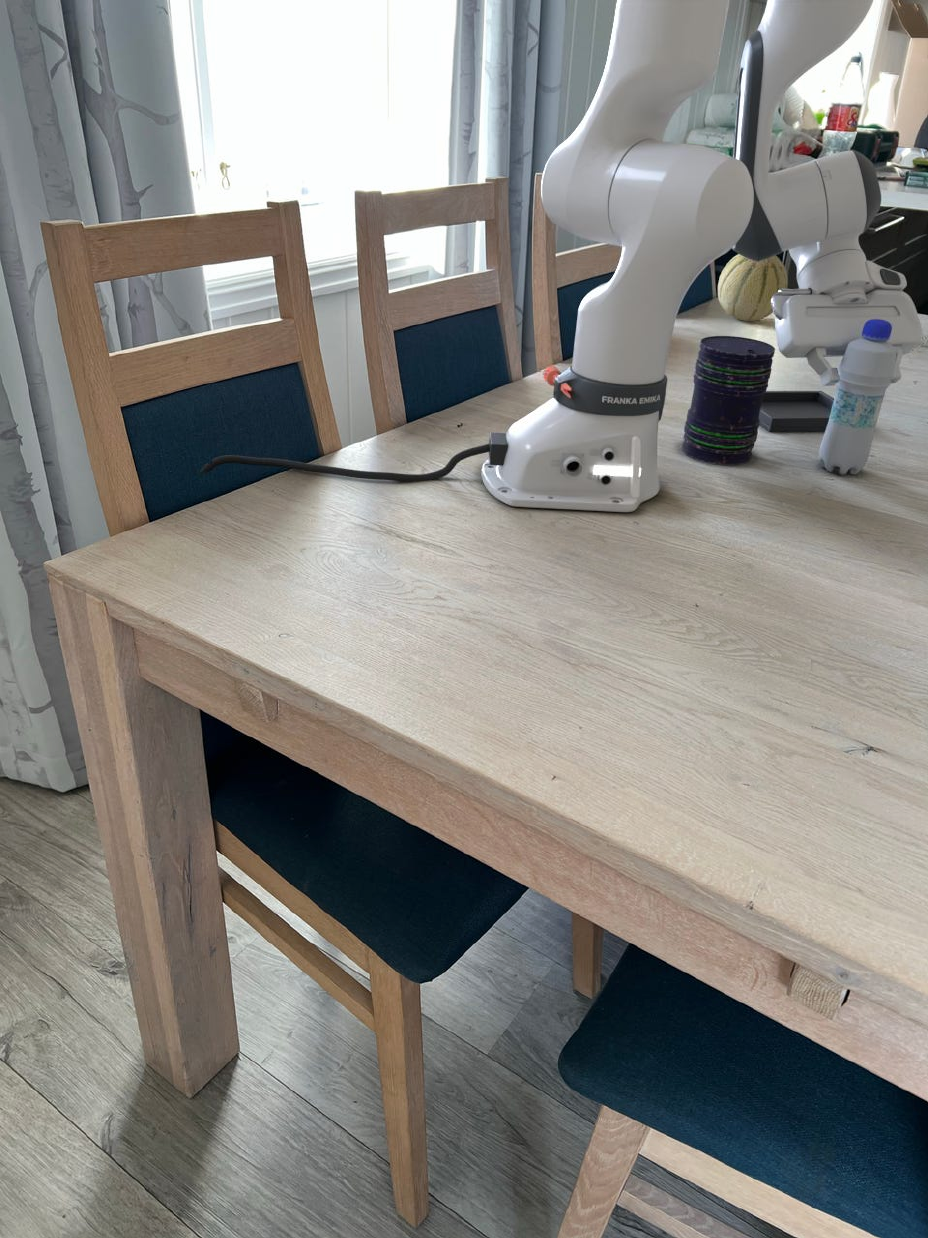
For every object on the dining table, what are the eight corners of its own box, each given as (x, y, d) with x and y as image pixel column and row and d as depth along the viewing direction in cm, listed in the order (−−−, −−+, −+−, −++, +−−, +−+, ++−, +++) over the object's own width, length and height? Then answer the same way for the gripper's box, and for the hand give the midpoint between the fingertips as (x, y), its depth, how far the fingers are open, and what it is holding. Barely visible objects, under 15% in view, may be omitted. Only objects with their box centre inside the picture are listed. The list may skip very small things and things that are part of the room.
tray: (769, 431, 141) (772, 418, 140) (730, 403, 152) (733, 390, 151) (863, 430, 144) (866, 417, 143) (818, 403, 155) (821, 390, 154)
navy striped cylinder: (667, 443, 134) (685, 336, 126) (725, 438, 137) (746, 334, 130) (706, 468, 126) (728, 356, 118) (767, 462, 129) (791, 353, 122)
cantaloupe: (738, 309, 217) (751, 240, 209) (792, 323, 207) (809, 251, 200) (697, 316, 209) (710, 244, 201) (753, 330, 199) (768, 255, 192)
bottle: (869, 480, 125) (913, 327, 115) (817, 474, 126) (856, 322, 116) (861, 463, 131) (902, 316, 121) (811, 457, 132) (848, 311, 122)
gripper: (781, 274, 120) (807, 372, 117) (915, 274, 125) (943, 368, 122) (755, 303, 126) (780, 396, 123) (884, 301, 131) (910, 391, 128)
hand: (862, 382), depth 123 cm, fingers open, 8 cm apart
